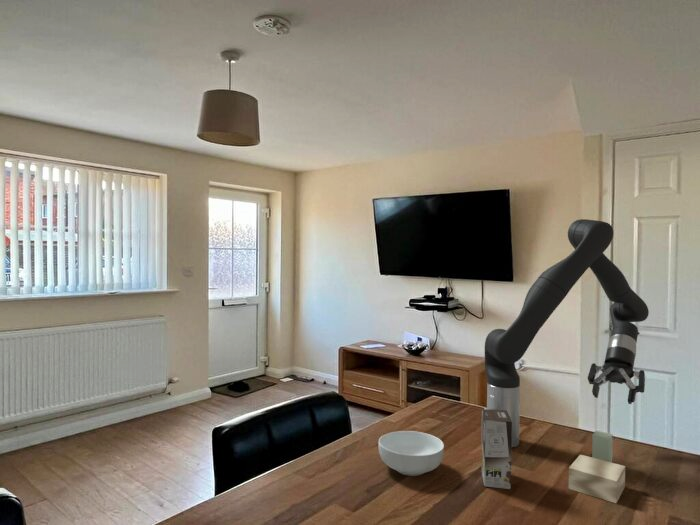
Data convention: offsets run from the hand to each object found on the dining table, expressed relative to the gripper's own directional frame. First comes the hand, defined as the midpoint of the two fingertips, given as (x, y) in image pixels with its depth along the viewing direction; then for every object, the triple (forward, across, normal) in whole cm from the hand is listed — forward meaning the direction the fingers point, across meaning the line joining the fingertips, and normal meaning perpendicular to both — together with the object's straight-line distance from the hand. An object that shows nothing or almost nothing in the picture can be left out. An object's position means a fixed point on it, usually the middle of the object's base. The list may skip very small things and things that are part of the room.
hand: (612, 399), depth 132 cm
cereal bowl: (+44, -37, -23) cm, 62 cm away
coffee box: (+38, -18, -16) cm, 45 cm away
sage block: (+18, 0, +2) cm, 19 cm away
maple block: (+29, +2, -8) cm, 30 cm away
